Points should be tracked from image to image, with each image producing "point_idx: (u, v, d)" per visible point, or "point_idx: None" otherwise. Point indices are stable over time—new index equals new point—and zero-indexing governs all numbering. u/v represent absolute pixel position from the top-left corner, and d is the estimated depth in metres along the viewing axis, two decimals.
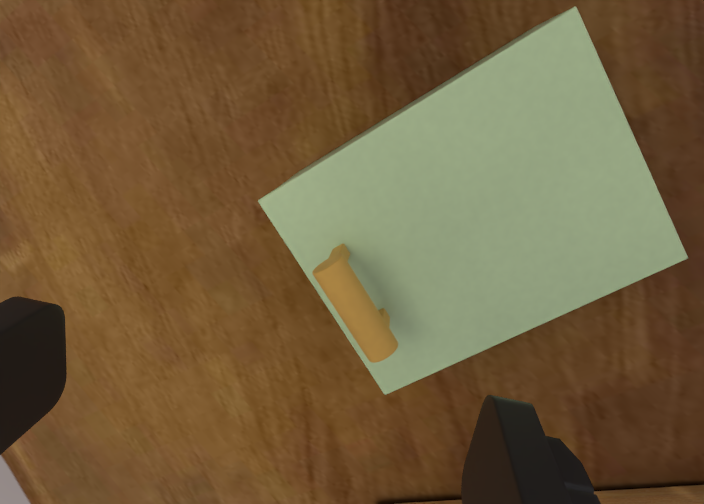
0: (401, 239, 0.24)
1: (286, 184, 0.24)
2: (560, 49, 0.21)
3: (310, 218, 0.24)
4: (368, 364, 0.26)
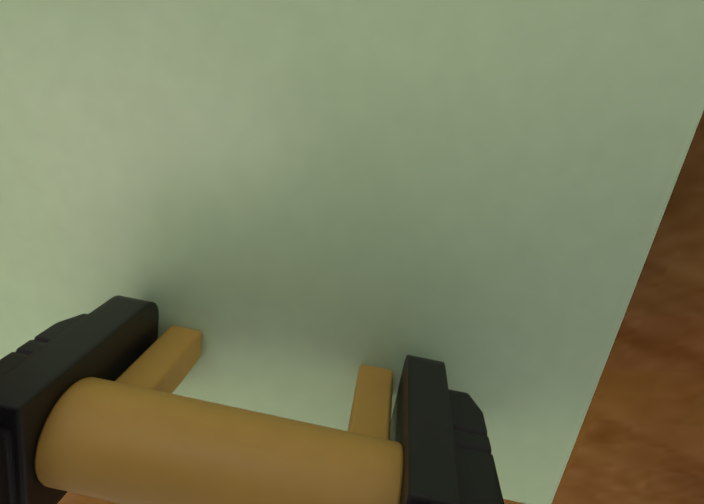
0: (241, 216, 0.09)
1: None
2: None
3: None
4: None
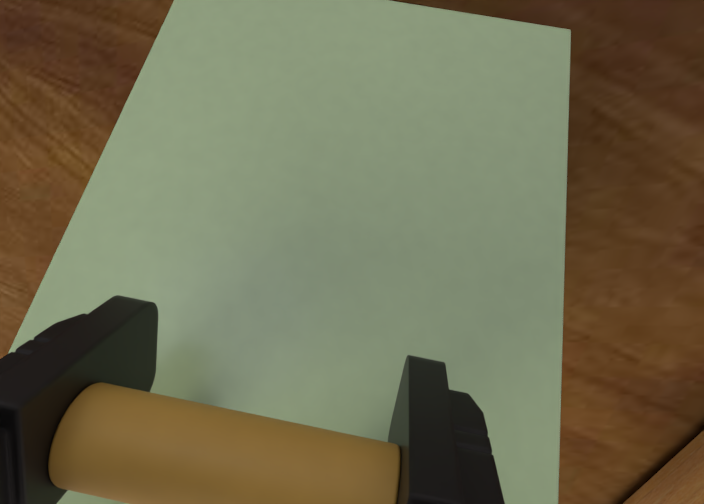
0: (248, 322, 0.12)
1: None
2: None
3: None
4: None
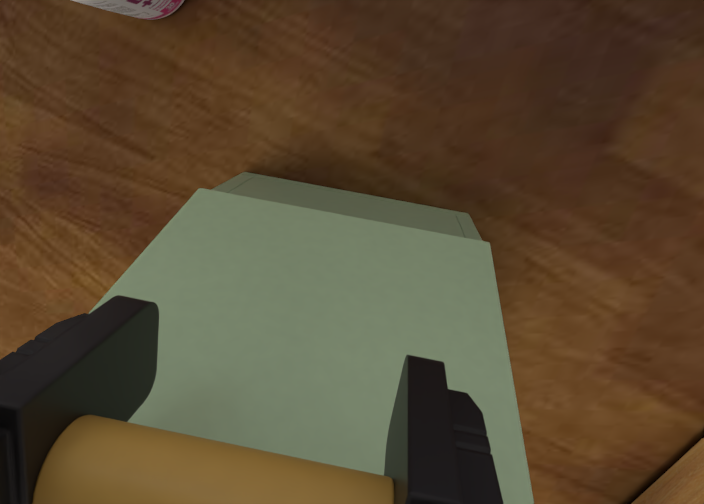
0: (224, 437, 0.12)
1: None
2: (216, 205, 0.20)
3: None
4: None
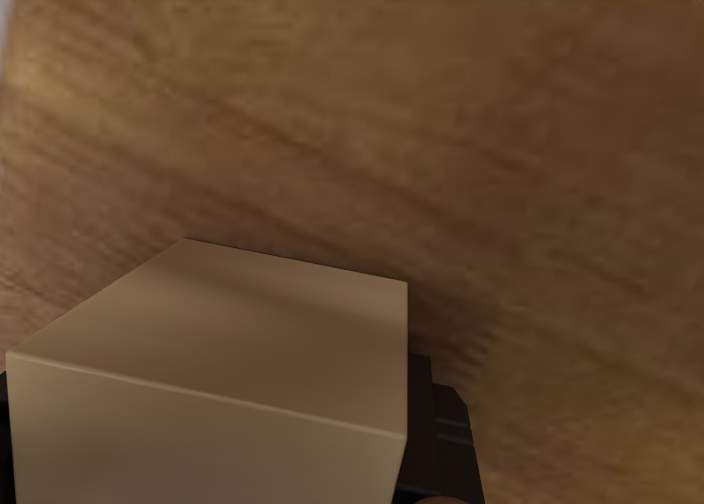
0: None
1: None
2: None
3: None
4: None
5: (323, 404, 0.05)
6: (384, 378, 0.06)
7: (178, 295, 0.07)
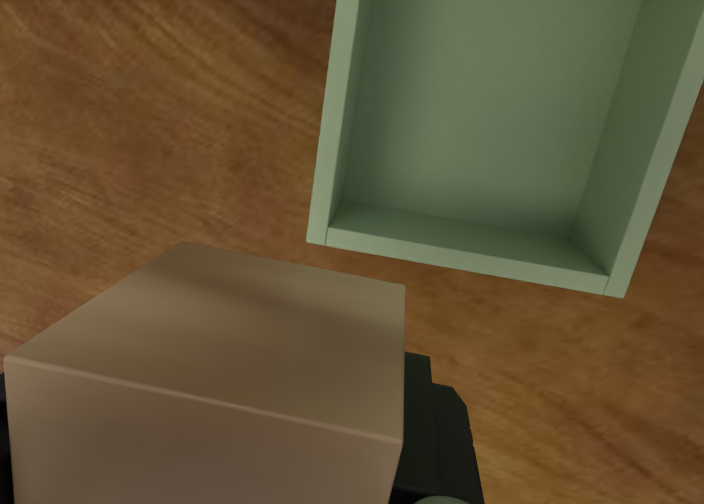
0: None
1: None
2: None
3: None
4: None
5: (320, 408, 0.05)
6: (379, 382, 0.06)
7: (176, 299, 0.07)
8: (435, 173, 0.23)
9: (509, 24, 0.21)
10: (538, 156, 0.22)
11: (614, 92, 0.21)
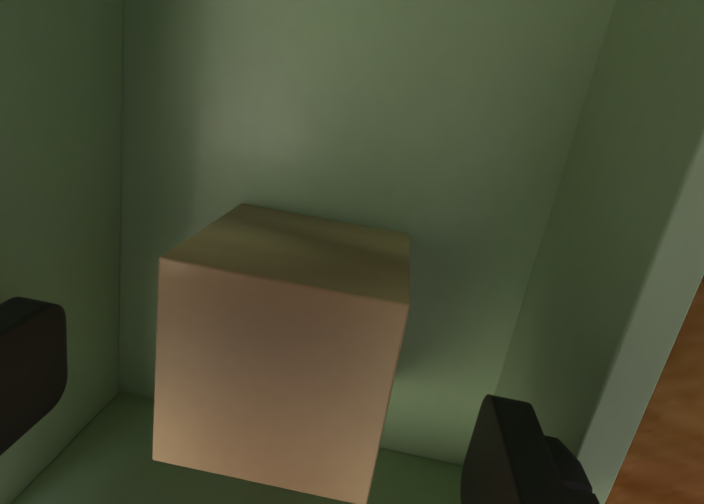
0: None
1: None
2: None
3: None
4: None
5: (357, 289, 0.09)
6: (394, 280, 0.09)
7: (251, 235, 0.10)
8: None
9: (353, 141, 0.12)
10: (416, 346, 0.14)
11: (536, 257, 0.12)
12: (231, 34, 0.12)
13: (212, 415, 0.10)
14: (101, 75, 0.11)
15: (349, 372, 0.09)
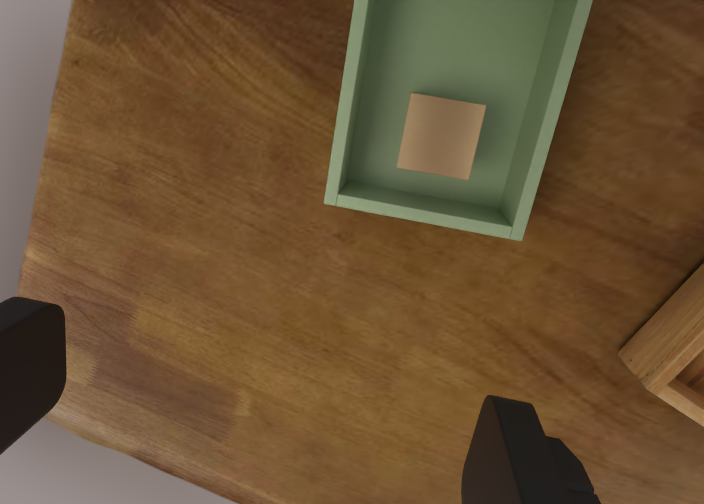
0: None
1: None
2: None
3: None
4: None
5: (470, 102, 0.29)
6: None
7: None
8: None
9: (456, 66, 0.32)
10: (477, 152, 0.34)
11: (525, 111, 0.33)
12: (413, 26, 0.32)
13: (420, 148, 0.30)
14: (368, 41, 0.31)
15: (466, 128, 0.29)
